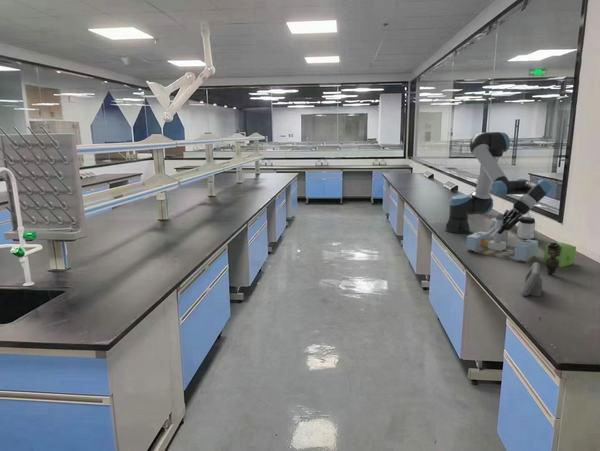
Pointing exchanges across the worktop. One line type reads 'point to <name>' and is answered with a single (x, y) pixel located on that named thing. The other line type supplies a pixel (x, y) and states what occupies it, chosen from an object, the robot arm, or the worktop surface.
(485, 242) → the gauge plunger
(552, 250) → the dark brown figurine
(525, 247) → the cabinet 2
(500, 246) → the white stand
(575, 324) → the worktop surface
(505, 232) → the supplement tub
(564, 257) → the lime green rounded box
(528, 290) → the gray robed figurine
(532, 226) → the jar
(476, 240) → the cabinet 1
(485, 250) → the rail bench
